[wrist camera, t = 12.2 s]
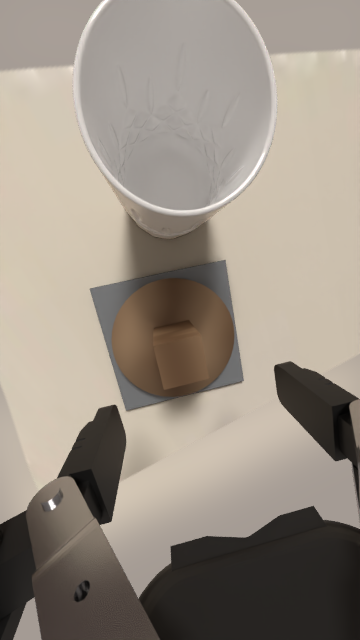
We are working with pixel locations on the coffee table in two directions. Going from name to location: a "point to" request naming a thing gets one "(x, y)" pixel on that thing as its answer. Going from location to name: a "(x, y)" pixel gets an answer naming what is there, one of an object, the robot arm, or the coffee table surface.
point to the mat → (116, 294)
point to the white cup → (174, 106)
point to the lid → (172, 337)
